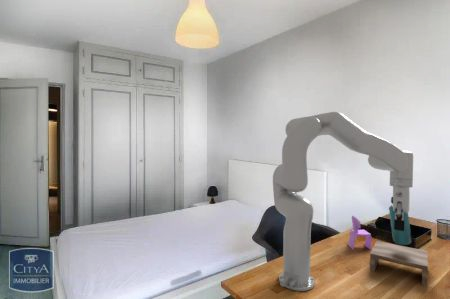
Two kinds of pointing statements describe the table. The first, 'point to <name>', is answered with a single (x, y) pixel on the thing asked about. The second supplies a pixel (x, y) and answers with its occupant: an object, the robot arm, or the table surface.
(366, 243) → the toy chair
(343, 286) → the table surface
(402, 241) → the beverage bottle
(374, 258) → the walnut shelf
